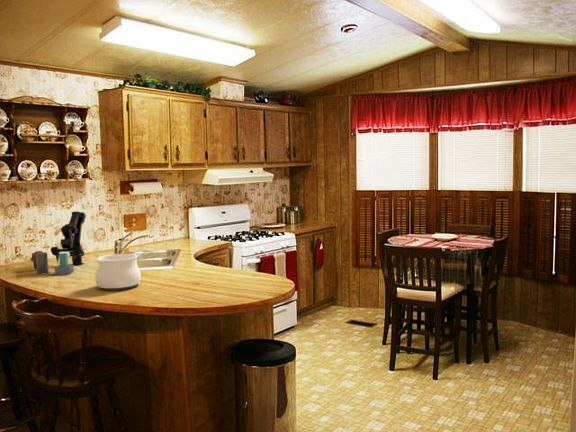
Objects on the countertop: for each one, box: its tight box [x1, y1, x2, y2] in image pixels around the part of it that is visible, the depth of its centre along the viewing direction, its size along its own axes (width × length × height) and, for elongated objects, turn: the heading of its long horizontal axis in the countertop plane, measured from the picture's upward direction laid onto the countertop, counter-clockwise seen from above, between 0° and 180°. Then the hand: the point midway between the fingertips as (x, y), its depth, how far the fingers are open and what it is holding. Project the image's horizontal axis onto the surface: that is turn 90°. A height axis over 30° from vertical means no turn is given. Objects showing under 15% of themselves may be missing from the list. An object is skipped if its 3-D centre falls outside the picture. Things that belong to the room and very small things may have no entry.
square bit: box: [58, 252, 69, 267], centre depth 338 cm, size 4×4×13 cm
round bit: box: [36, 251, 49, 275], centre depth 341 cm, size 7×7×13 cm
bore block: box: [54, 263, 75, 276], centre depth 338 cm, size 9×9×5 cm
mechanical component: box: [30, 250, 43, 271], centre depth 353 cm, size 12×10×10 cm
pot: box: [92, 252, 142, 292], centre depth 296 cm, size 28×24×17 cm
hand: (64, 261), depth 340 cm, fingers open, 9 cm apart
